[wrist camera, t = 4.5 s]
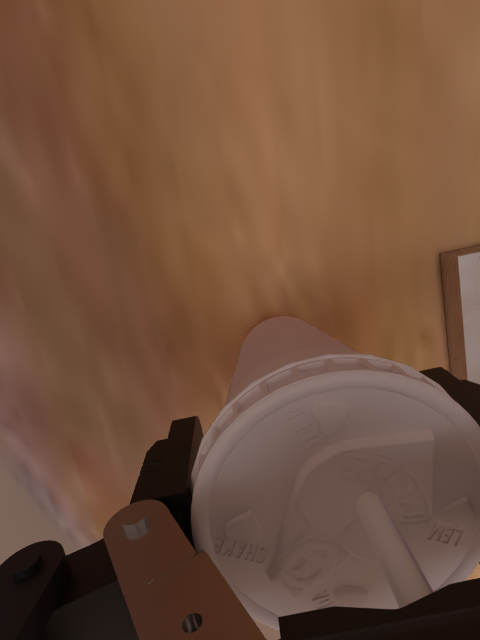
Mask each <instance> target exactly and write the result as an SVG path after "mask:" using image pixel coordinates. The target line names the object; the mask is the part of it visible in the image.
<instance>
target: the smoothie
mask: <svg viewBox="0 0 480 640" xmlns="http://www.w3.org/2000/svg"><path fill="white" fill-rule="evenodd" d="M191 493H192V505H191V527H192V536H193V540H194V545H195V549H196V551H197V553H198V552H199V551H201V550H204V551H205V552H206V553H207V554H208V555H209V557H210V558H211V560H212V561H213V562H214V564H215V565H216V567H217V568H218V570H219V571H220V573H221V574H222V576H223V577H224V578H225V580H226V581H227V583H228V584H229V586H230V587H231V589H232V590H233V592H234V593H235V595H236V596H237V597H238V599H239V600H240V602H241V603H242V605H243V606H244V608H245V609H246V611H247V612H248V613H249V615H250V616H251V618H253V619H255V620H257V621H258V622H260V623H263V624H265V625H267V626H269V627H272V628H273V629H277V630H280V628H279V621H278V617H281V616H286V615H292V614H297V613H302V612H307V611H312V610H317V609H323V608H328V607H333V606H337V607H357V608H377V609H399V608H402V607H404V606H406V605H408V604H410V603H412V602H415V601H417V600H419V599H421V598H423V597H425V596H427V595H429V594H431V593H433V592H435V591H437V590H439V589H441V588H443V587H445V586H447V585H449V584H452V583H457V582H462V581H465V580H466V579H467V578H468V577H469V576H470V575H471V574H472V572H473V571H474V569H475V567H476V566H477V564H478V563H479V562H480V426H479V425H478V424H477V422H476V421H475V420H474V419H473V418H472V417H471V415H470V414H469V413H468V412H467V411H466V410H465V409H464V408H462V407H461V406H460V405H459V404H458V403H457V402H456V401H454V400H453V399H452V398H451V397H450V396H449V395H448V393H447V392H446V391H445V390H444V389H443V388H442V387H441V386H440V384H438V383H436V382H435V381H433V380H431V379H430V378H428V377H427V376H425V375H423V374H422V373H420V372H418V371H417V370H415V369H414V368H412V367H410V366H409V365H407V364H403V363H399V362H396V361H392V360H389V359H385V358H382V357H378V356H375V355H371V354H361V353H359V352H357V351H355V350H354V349H352V348H350V347H348V346H347V345H345V344H343V343H342V342H340V341H338V340H336V339H335V338H333V337H331V336H330V335H328V334H326V333H324V332H323V331H321V330H319V329H318V328H316V327H314V326H312V325H311V324H309V323H307V322H305V321H304V320H301V319H299V318H295V317H290V316H279V317H273V318H270V319H267V320H265V321H263V322H261V323H259V324H258V325H257V326H255V327H254V328H253V329H252V330H251V331H250V332H249V333H248V335H247V336H246V338H245V339H244V341H243V344H242V346H241V350H240V353H239V357H238V360H237V364H236V368H235V371H234V375H233V378H232V382H231V385H230V389H229V392H228V396H227V400H226V403H225V406H224V407H223V408H222V409H221V411H220V412H219V414H218V416H217V417H216V419H215V420H214V422H213V423H212V425H211V426H210V428H209V429H208V431H207V432H206V434H205V435H204V437H203V439H202V440H201V444H200V447H199V450H198V454H197V457H196V460H195V463H194V467H193V470H192V473H191Z"/></svg>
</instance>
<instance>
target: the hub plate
mask: <svg viewBox="0 0 480 640" xmlns="http://www.w3.org/2000/svg"><path fill="white" fill-rule="evenodd" d="M440 261H441V272H442V283H443V294H444V306H445V317H446V328H447V339H448V350H449V361H450V372H451V374H452V375H453V376H455V377H456V378H458V379H459V380H463V379H465V380H468V381H471V382H474V383H477V384H480V245H479V246H474V247H470V248H465V249H460V250H455V251H450V252H446V253H441V254H440ZM479 564H480V562H479Z"/></svg>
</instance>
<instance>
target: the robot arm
mask: <svg viewBox="0 0 480 640" xmlns="http://www.w3.org/2000/svg"><path fill="white" fill-rule="evenodd" d="M418 372H420V373H422V374H423V375H425V376H427V377H428V378H430V379H431V380H433V381H435V382H436V383H438V384H440V386H441V387H442V388H443V389H444V390H445V391H446V392H447V393H448V395H449V396H450V397H451V398H452V399H453V400H454V401H456V402H457V403H458V404H459V405H460V406H461V407H462V408H464V409H465V410H466V411H467V412H468V413H469V414H470V415H471V417H472V418H473V419H474V420H475V421H476V422H477V424H478V425H479V426H480V384H477V383H474V382H471V381H468V380H465V379H463V380H459V379H458V378H456V377H455V376H453V375H452V374H451V373H449V372H448V371H446V370H445V369H443V368H442V367H437V368H433V369H428V370H423V371H418ZM203 437H204V436H203V432H202V428H201V424H200V421H199V418H198V416H193V417H189V418H184V419H179V420H174V421H172V424H171V427H170V431H169V435H168V439H164V440H159V441H157V442H156V443H155V444H154V445H153V446H152V447H151V448H150V449H149V450H148V451H147V453H146V456H145V459H144V462H143V466H142V468H141V471H140V476H139V477H138V480H137V483H136V486H135V489H134V492H133V495H132V498H131V502H130V505H128V506H126V507H124V508H122V509H121V510H120V511H118V512H117V513H116V514H115V515H113V517H112V518H111V519H110V520H109V521H108V522H107V524H106V526H105V528H104V531H103V537H104V538H103V539H101V540H100V541H98V542H96V543H94V544H92V545H89V546H87V547H85V548H83V549H80V550H78V551H76V552H73V553H71V554H69V555H65V552H64V549H63V547H62V545H61V544H60V543H58V542H56V541H41V542H37V543H34V544H31V545H29V546H27V547H25V548H23V549H21V550H19V551H18V552H16V553H15V554H13V555H12V556H10V557H9V558H8V559H7V560H6V561H4V562H3V563H2V564H1V565H0V640H266V638H265V637H264V635H263V634H262V632H261V631H260V630H259V628H258V627H257V626H256V624H255V622H254V621H253V619H252V618H251V616H250V615H249V613H248V612H247V611H246V609H245V608H244V606H243V605H242V603H241V602H240V600H239V599H238V597H237V596H236V595H235V593H234V592H233V590H232V589H231V587H230V586H229V584H228V583H227V581H226V580H225V578H224V577H223V576H222V574H221V573H220V571H219V570H218V568H217V567H216V565H215V564H214V562H213V561H212V560H211V558H210V557H209V555H208V554H207V553H206V552H205V551H204V550H201V551H199V552H198V553H197V551H196V549H195V545H194V540H193V536H192V527H191V505H192V493H191V473H192V470H193V467H194V463H195V460H196V457H197V454H198V450H199V447H200V444H201V440H202V439H203ZM278 621H279V628H280V636H281V638H280V639H279V640H480V578H478V579H472V580H467V581H462V582H457V583H452V584H449V585H447V586H445V587H443V588H441V589H439V590H437V591H435V592H433V593H431V594H429V595H427V596H425V597H423V598H421V599H419V600H417V601H415V602H412V603H410V604H408V605H406V606H404V607H402V608H399V609H377V608H357V607H337V606H333V607H328V608H323V609H317V610H312V611H307V612H302V613H297V614H292V615H286V616H281V617H278Z"/></svg>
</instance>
